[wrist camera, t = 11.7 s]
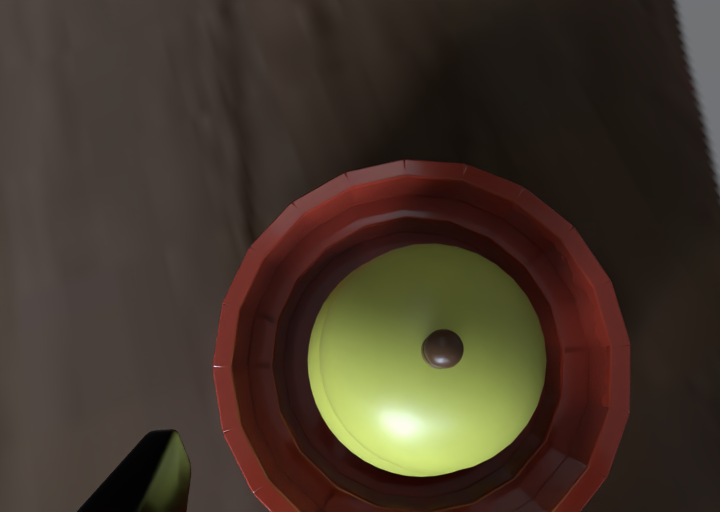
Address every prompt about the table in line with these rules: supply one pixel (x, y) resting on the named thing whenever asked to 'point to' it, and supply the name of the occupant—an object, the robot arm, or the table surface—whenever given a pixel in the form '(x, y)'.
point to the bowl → (364, 243)
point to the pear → (427, 360)
